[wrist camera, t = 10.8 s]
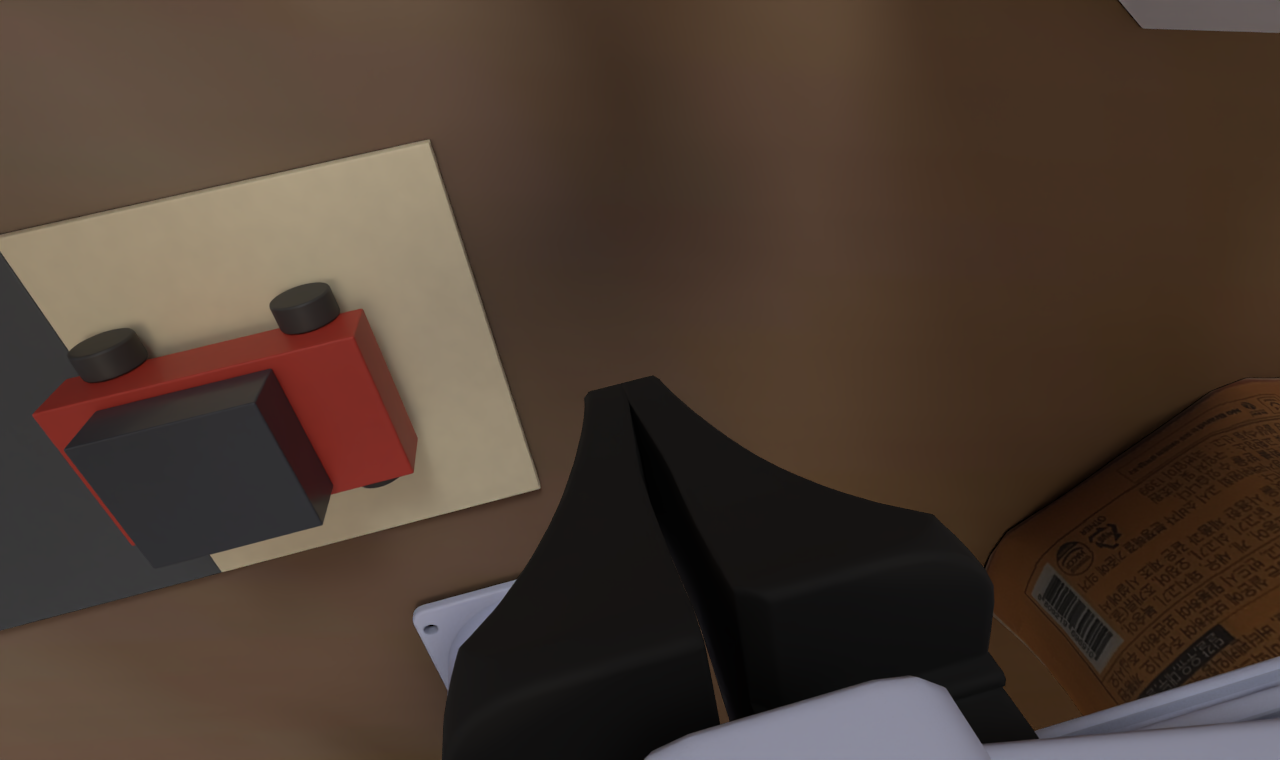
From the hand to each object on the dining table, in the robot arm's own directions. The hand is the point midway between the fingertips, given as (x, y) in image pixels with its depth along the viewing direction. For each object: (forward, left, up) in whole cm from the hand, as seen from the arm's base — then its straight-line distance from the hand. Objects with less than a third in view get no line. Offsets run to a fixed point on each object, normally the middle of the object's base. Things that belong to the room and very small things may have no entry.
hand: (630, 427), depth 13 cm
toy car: (-2, +10, -9) cm, 14 cm away
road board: (-2, +15, -9) cm, 18 cm away
